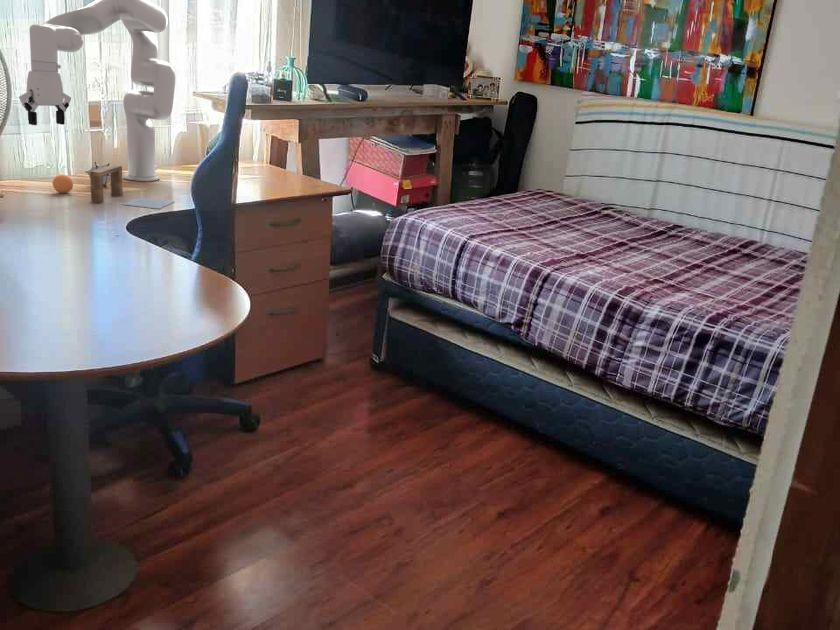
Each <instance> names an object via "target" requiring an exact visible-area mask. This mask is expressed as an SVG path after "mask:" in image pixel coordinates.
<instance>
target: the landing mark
mask: <svg viewBox="0 0 840 630" xmlns="http://www.w3.org/2000/svg"><path fill="white" fill-rule="evenodd" d="M174 203H175V201H171V200H164V199H162V200H161V199H154V198H147V197H138V198H135V199H133V200H130V201H127V202H125V203H123V204H122V205H123V206H128V205H130V207H136V206H137V208H146V209H153V210H154V209H155V210H160V209H161V210H162V209H163V208H165V207H167V206H170V205H171V204H174ZM122 205H121V206H122Z"/></svg>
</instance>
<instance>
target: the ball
mask: <svg viewBox="0 0 840 630" xmlns="http://www.w3.org/2000/svg"><path fill="white" fill-rule="evenodd" d="M52 186H53V188H54V190H55V191H56V192H57V193H59V194H67V193H69V192H71V191H72V190H73V187H74V183H73V180H72V179H71V177H70V176H68V175H66V174H59V175H56V176H55V177H54V178H53V180H52Z"/></svg>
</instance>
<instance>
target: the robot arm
mask: <svg viewBox="0 0 840 630" xmlns="http://www.w3.org/2000/svg"><path fill="white" fill-rule="evenodd" d="M118 21H121V23H122V24H123V26H124V27H125V28H126V30H127V31H128V33H129V35H130V37H131V41H132V56H131V66H130V78H131V81H132V82H133V83H134V84H135V85H137V86H141V87H146V88H151V89H152V88H153V91H151V90H145V89H138V88H136V89H132V90H129V91H127V92H126V93H125V95H124V96H123V99H122V100H123V102H122V103H123V105H122V106H123V109H124V114H125V119H126V142H127V143H126V146H127V172H125V173H123V179H126V180H129V181H134V182H135V181H136V182H153V181H155V182H156V181H159V180H160V178H161V176H160V175H159V174H157V173H156V171H157V170H158V169H159V166H158V165H157V164H156V133H155V132H156V131H155V126H154V124H153V121H152V120H156V121H165V120H168V119H169V118H170V117H171V114H172V112H173V105H174V99H175V88H176V87H175V86H176V72H175V70H174V68H173V66H172V65H171V64H170V63H169V62H167V61H165V60H159V58H158V57H159V45H158V41H157V38H156V36H155V34H154V33H157V34H158V33H161V32H163V31H164V30H165V29H167V27H168V16H167V14H166V11H165V10H164V9H163V8H161V7H160V6H159V5H157V4H155V3H154V2H151V1H150V0H94V1H93V2H91V3H89V4H87V5H86V6H84V7H81V8H78V9H73V10H71V11H68V12H64V13H61V14H58V15H56V16H54V17H52V18H50V19H48V20H47V21H44V23H42V24H32V25H30V26H29V47H30V48H29V50H30V68H31V69H30V70H29V71H28V73H27V78H26V92H25V93H22V94H21V95H19V96H18V99H19V101H20V103H21V105H22V107H23V108H25V111H27V120H28V125H32V126H37V125H38V117H37V116H38V113H37V111H36V110H37V108H38V107H39V106H41V107H42V106H44V107H45V106H46V107H47V106H49V107H50V106H51V107H52V106H53V107H55V108H56V110H55V122H56V124H57V125H61V126H64V125H65V120H66V117H65V113H66V112H67V109H68V108H69V107H70V103H71V100H72V97H71V96H69V95H68V94H66V93H65V92H64V90H63V89H64V88H63V82H62V77H61V74H60V73H59V69H61V67H62V66H61V64H60V63H58V62H59V60H58V59H59V58H58V55H59V54H58V52H65V53H76V52H78V51H80V50H81V48H82V47H83V45H84V37H83V35H86V36H87V35H94V34H98V33H101V32H103V31H104V30H106V29H107V28H109V27H111V26H112V25H114V24H115V23H117V22H118ZM158 179H159V180H158Z"/></svg>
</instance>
